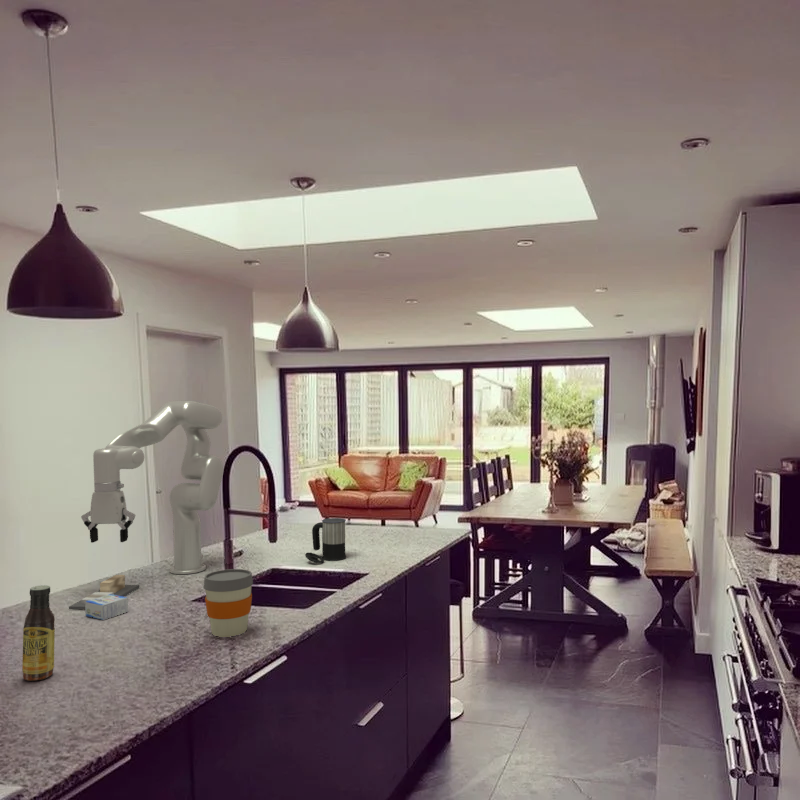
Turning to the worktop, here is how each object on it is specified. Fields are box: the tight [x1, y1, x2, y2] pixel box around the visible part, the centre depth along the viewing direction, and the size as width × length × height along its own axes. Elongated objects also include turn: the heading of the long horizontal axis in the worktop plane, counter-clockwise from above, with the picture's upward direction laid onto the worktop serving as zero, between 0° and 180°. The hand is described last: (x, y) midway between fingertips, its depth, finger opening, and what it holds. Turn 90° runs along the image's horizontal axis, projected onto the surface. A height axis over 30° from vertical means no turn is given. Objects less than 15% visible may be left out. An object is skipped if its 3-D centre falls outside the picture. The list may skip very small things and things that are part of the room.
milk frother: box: [305, 517, 347, 564], centre depth 256 cm, size 14×16×15 cm
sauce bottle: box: [21, 584, 56, 682], centre depth 150 cm, size 6×6×20 cm
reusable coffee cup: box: [203, 568, 254, 638], centre depth 177 cm, size 13×13×15 cm
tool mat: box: [68, 584, 141, 610], centre depth 211 cm, size 24×10×1 cm, turn 175°
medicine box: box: [84, 594, 129, 621], centre depth 194 cm, size 8×4×9 cm
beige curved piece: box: [81, 574, 126, 604], centre depth 211 cm, size 18×6×4 cm, turn 176°
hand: (109, 541), depth 213 cm, fingers open, 9 cm apart
